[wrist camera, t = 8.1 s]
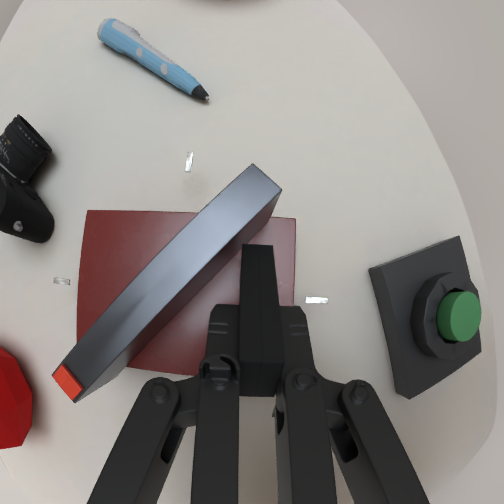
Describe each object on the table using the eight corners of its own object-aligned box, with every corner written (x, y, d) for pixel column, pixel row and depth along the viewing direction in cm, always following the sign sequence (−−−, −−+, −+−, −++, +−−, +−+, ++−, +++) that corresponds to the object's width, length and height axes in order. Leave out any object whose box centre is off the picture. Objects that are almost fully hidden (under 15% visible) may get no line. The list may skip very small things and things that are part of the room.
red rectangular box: (313, 182, 22) (326, 162, 18) (304, 415, 19) (316, 435, 16) (94, 175, 21) (75, 156, 18) (79, 391, 18) (57, 404, 15)
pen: (97, 42, 24) (90, 27, 21) (118, 28, 24) (113, 13, 21) (197, 113, 23) (193, 93, 20) (224, 93, 23) (223, 72, 20)
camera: (91, 195, 21) (38, 154, 13) (41, 258, 20) (-21, 243, 12) (31, 122, 22) (-7, 84, 14) (-8, 172, 21) (-52, 144, 13)
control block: (467, 349, 21) (494, 353, 17) (396, 392, 20) (421, 406, 16) (444, 240, 22) (472, 230, 18) (368, 269, 21) (393, 263, 17)
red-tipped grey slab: (247, 201, 18) (253, 160, 12) (268, 221, 18) (283, 187, 12) (97, 356, 16) (48, 376, 10) (115, 377, 16) (72, 405, 10)
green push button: (469, 328, 17) (484, 329, 16) (440, 347, 17) (454, 350, 15) (462, 285, 18) (476, 284, 16) (431, 302, 17) (446, 302, 16)
